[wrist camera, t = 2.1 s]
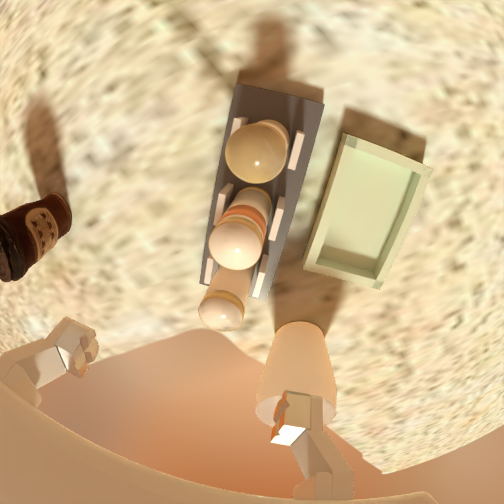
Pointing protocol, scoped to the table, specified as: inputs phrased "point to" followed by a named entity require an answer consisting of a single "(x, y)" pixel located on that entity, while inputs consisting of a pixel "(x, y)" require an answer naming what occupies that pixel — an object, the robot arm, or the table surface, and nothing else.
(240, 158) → the fuse
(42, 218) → the coffee cup
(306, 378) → the cup
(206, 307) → the fuse
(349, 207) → the tray
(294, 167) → the fuse block
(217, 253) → the fuse marked
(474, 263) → the table surface
